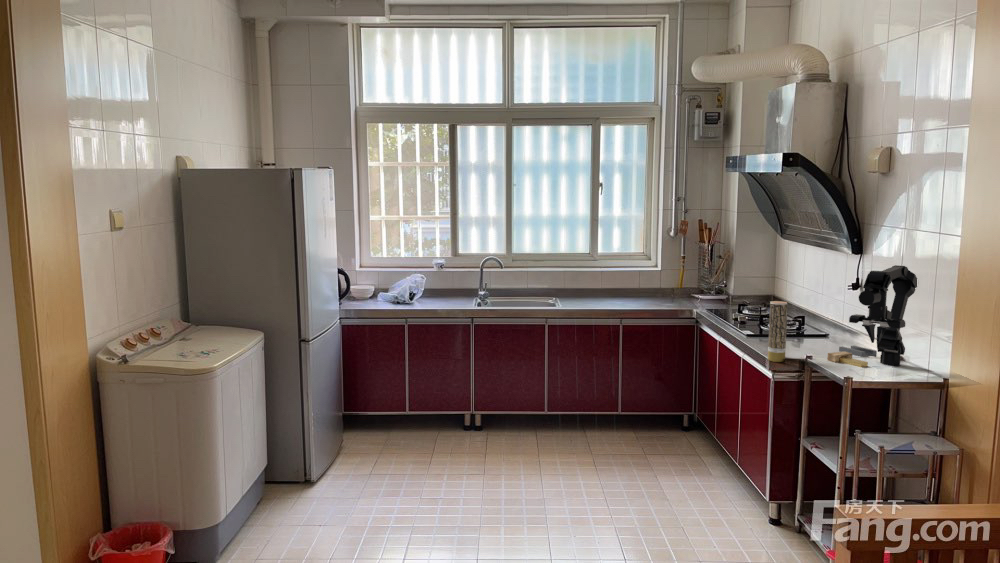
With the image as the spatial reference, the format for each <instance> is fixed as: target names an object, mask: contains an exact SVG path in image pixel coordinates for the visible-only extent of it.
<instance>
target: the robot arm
mask: <svg viewBox="0 0 1000 563" xmlns="http://www.w3.org/2000/svg"><path fill="white" fill-rule="evenodd" d="M917 279H918V277H917V276H916V273H913V272H912V271H911V270H909V268H908V266H905V265H892V266H891V267H888V268H886V269H883V270H870V271H869V272H868V273H867V275H866V277H865V281H864V283H863V287H862V289H864V290H863V291H861V292H860V293H859V294H858V301H859V303H860V304H861V305H863V306H867V309H868V315H867V316H866V315H864V314H858V313H857V314H856V313H855V314H851V315H850V316H849V318H848V323H852V324H858V323H859V322H862V324H861V327H863V328H864V329H865V330H866V332H867V334H868V336H869V340H870V342H871V343H872V344H874V343H875V328H876V348H877V349H876V351H877V352H878V353H881V354H880V358H879V363H880V364H882V365H884V366H889V367H891V366H892V367H900V364H901V356H904V355H905V353H906V347H905V344H904V343H903V337H902V334H901V329H903V328H906V321H905V319H904V316H905V312H906V308H907V304H908V301H909V298H910V297H911V296H912V295H914V293H915V292H916V289H917V288H918V286H917ZM891 283H892V289H893V291H894V293H895V294H894V298H893V302H892V306H891V309H890V310H889V309H888V305H887V295H888V294H887V293H888V291H889V287H890V285H891ZM915 288H916V289H915ZM877 324H878V325H879V326H877ZM876 326H877V327H876Z"/></svg>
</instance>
